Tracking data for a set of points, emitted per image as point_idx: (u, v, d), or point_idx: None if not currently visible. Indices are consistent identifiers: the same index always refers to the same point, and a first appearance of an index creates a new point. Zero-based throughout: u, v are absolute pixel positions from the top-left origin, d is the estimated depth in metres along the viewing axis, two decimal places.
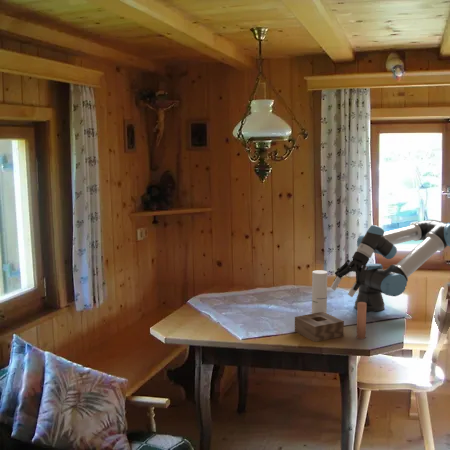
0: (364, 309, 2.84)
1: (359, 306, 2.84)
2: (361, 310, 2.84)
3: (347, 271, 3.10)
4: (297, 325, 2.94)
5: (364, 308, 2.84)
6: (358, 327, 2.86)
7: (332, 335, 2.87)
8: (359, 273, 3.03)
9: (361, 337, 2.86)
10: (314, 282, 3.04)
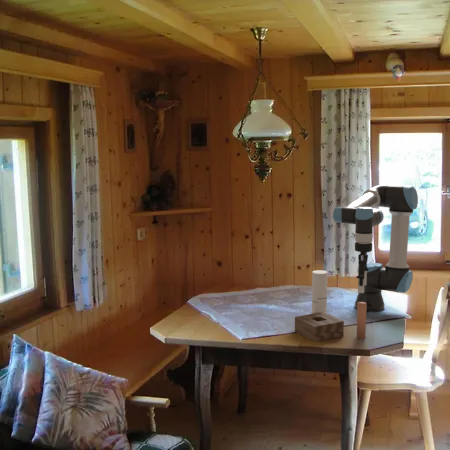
0: (364, 309, 2.84)
1: (359, 306, 2.84)
2: (361, 310, 2.84)
3: None
4: (297, 325, 2.94)
5: (364, 308, 2.84)
6: (358, 327, 2.86)
7: (332, 335, 2.87)
8: None
9: (361, 337, 2.86)
10: (314, 282, 3.04)
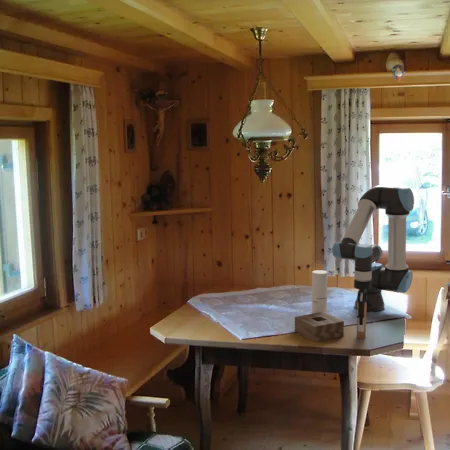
0: (364, 309, 2.84)
1: None
2: None
3: None
4: (297, 325, 2.94)
5: (364, 308, 2.84)
6: None
7: (332, 335, 2.87)
8: None
9: (361, 337, 2.86)
10: (314, 282, 3.04)
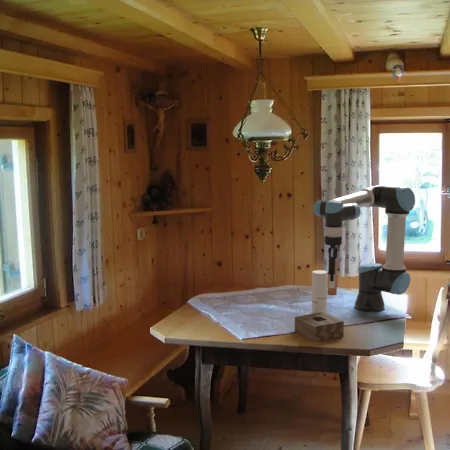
0: (335, 265, 2.84)
1: None
2: None
3: None
4: (297, 325, 2.94)
5: (335, 265, 2.84)
6: None
7: (332, 335, 2.87)
8: None
9: (332, 294, 2.86)
10: (314, 282, 3.04)
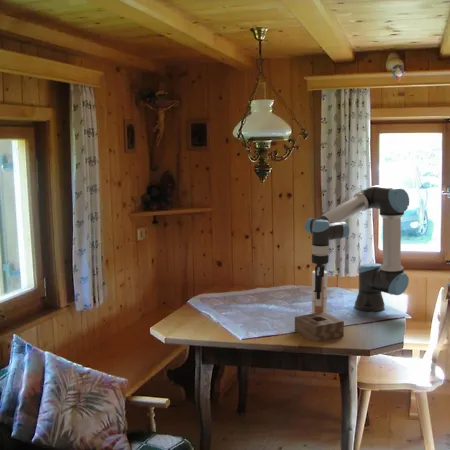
0: None
1: None
2: None
3: None
4: (297, 325, 2.94)
5: None
6: None
7: (332, 335, 2.87)
8: None
9: (319, 311, 2.89)
10: (314, 282, 3.04)
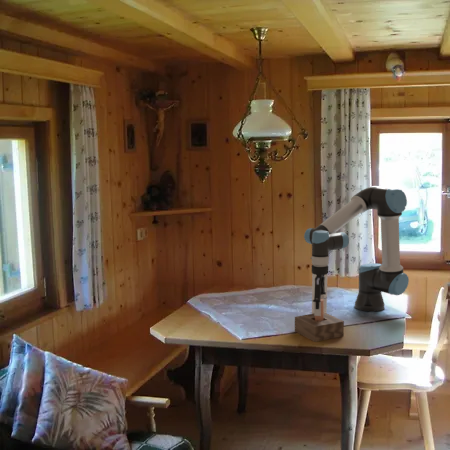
0: (321, 306, 2.89)
1: None
2: None
3: None
4: (297, 325, 2.94)
5: (321, 305, 2.89)
6: None
7: (332, 335, 2.87)
8: None
9: None
10: (314, 282, 3.04)
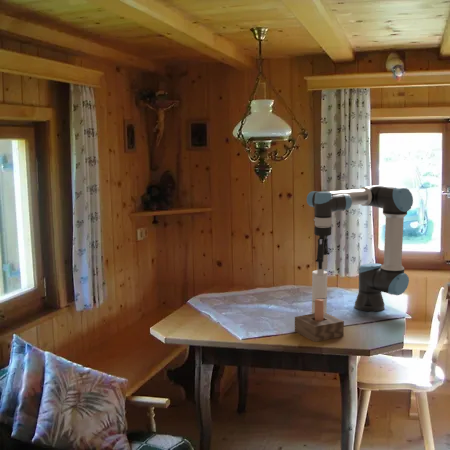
0: (321, 306, 2.89)
1: (316, 303, 2.89)
2: (318, 307, 2.89)
3: (324, 247, 2.91)
4: (297, 325, 2.94)
5: (321, 305, 2.89)
6: None
7: (332, 335, 2.87)
8: None
9: None
10: (314, 282, 3.04)
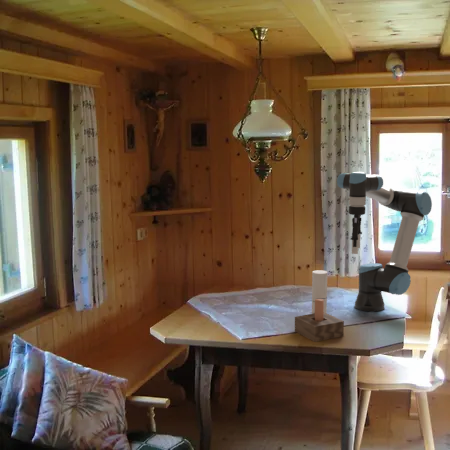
0: (321, 306, 2.89)
1: (316, 303, 2.89)
2: (318, 307, 2.89)
3: None
4: (297, 325, 2.94)
5: (321, 305, 2.89)
6: None
7: (332, 335, 2.87)
8: None
9: None
10: (314, 282, 3.04)
